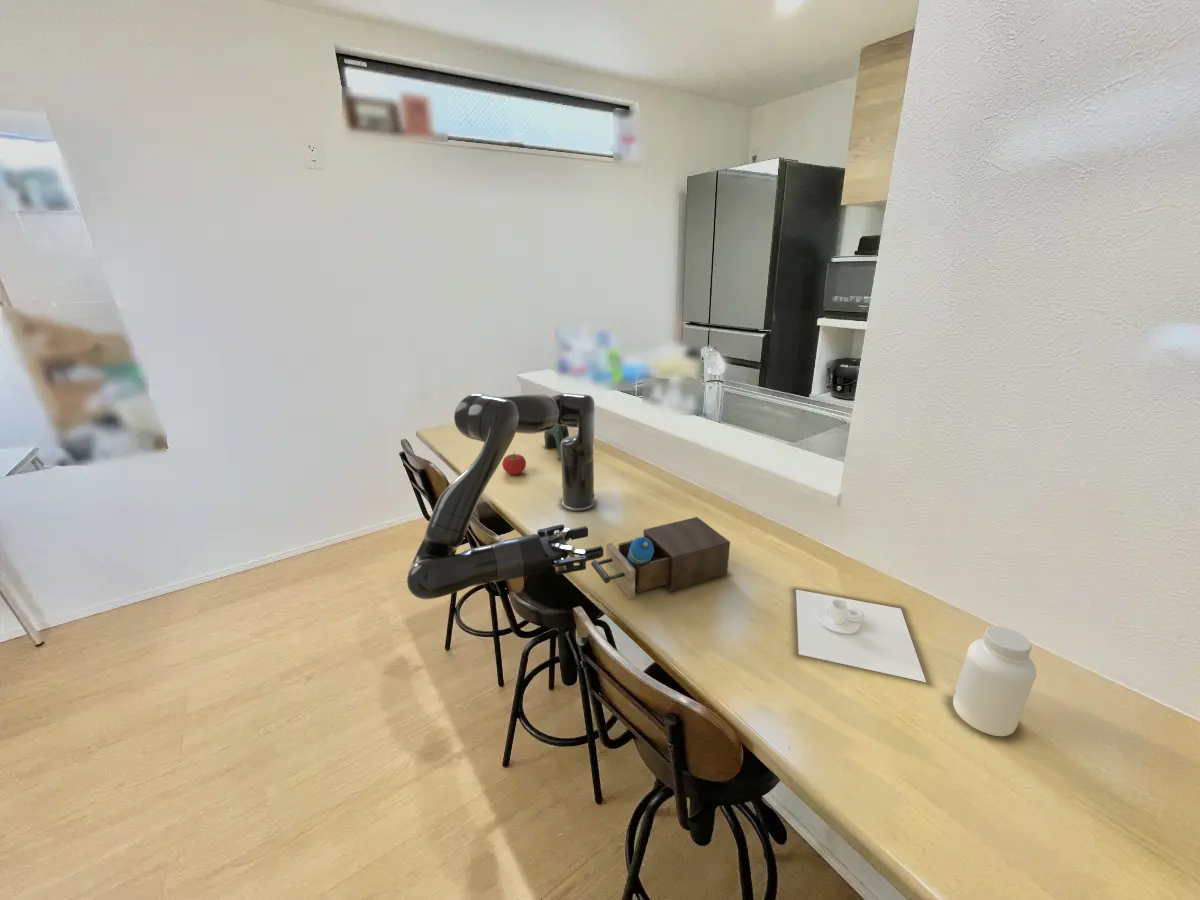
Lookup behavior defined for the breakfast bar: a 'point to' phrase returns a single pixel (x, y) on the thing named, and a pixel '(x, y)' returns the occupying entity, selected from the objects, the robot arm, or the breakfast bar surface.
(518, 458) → the tomato
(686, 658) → the breakfast bar surface
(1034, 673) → the pill bottle
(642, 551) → the ornament
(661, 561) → the drawer
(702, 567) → the cabinet
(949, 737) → the breakfast bar surface
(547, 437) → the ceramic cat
